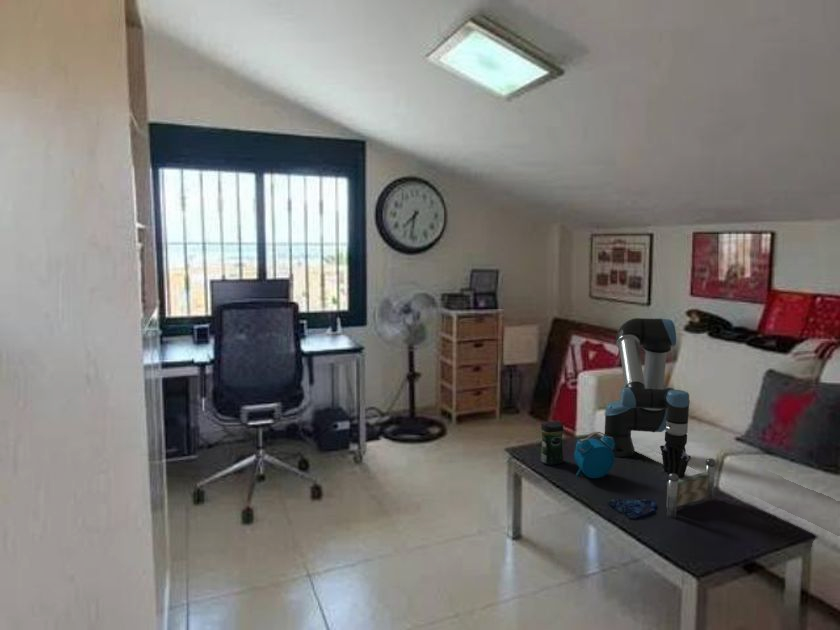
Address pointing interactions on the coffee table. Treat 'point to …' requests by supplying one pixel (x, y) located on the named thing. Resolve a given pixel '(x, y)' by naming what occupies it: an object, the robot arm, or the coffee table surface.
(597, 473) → the alarm clock
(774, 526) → the coffee table surface
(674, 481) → the gate posts
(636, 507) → the rock
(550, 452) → the coffee jar
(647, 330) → the robot arm
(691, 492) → the gate
